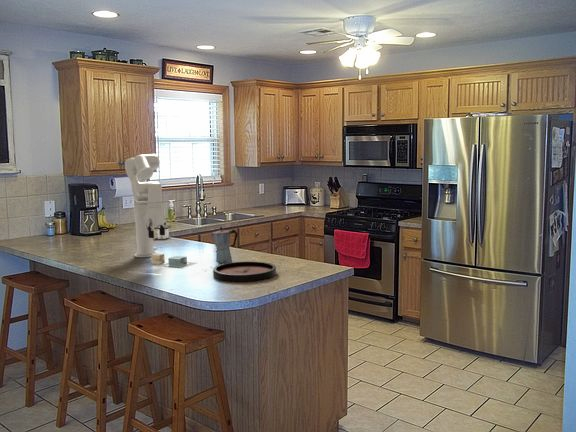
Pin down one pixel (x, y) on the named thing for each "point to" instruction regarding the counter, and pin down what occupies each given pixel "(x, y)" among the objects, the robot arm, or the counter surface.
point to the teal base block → (177, 260)
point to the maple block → (157, 258)
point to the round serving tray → (244, 272)
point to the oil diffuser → (165, 232)
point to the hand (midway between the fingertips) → (156, 236)
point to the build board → (177, 266)
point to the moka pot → (223, 245)
